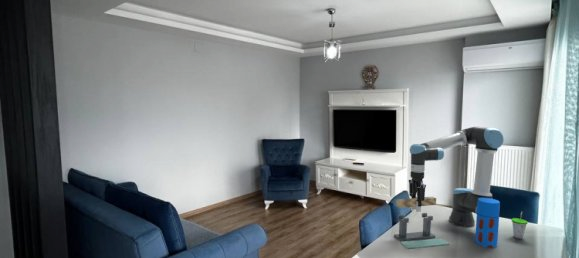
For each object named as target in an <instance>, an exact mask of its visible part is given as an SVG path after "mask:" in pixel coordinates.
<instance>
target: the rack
mask: <svg viewBox="0 0 579 258" xmlns="http://www.w3.org/2000/svg"><path fill="white" fill-rule="evenodd" d="M421 218H423V219H422V220H423V221H422V231H416V232H407V229H408V227H407V226H408V224H409V223H410V222H409V221H410V218H409V217H404V214H398V215H397V220H399V222H398V223H399V224H398V225H399V226H398V233H394V234H393V236H394V238H396V239H397V240H398V241H399V240H400V241H399V242H410V241H420V240H430V239H436V235H435V234H433V233H432V232H431V227H432V221H434V216H433V215H428V213H427V212H422V213H421Z"/></svg>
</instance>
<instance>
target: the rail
mask: <svg viewBox="0 0 579 258" xmlns="http://www.w3.org/2000/svg"><path fill="white" fill-rule="evenodd" d="M416 200H417V198H411V197H410V198H398V199H396V207H397V208H399V209H404V208H405V209H406V208H412V207H416ZM436 205H437V197H435V196H425V198H424V201H422V203H421V207H427V206H436Z"/></svg>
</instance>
